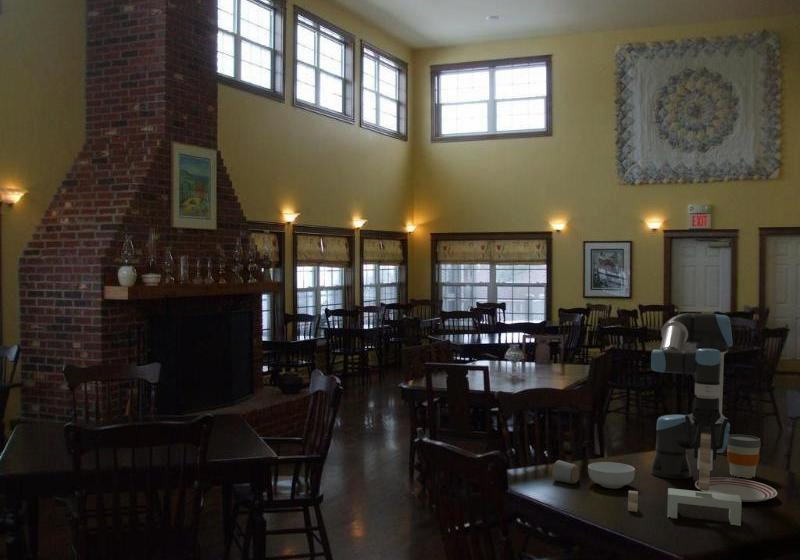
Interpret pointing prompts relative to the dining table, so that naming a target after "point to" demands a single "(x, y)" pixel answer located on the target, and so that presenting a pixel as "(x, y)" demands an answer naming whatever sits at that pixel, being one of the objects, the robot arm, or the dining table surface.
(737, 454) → the reusable coffee cup
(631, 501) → the short pin
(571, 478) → the ceramic mug
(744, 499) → the dinner plate
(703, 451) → the tall pin
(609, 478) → the cereal bowl
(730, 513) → the bridge
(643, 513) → the dining table surface
